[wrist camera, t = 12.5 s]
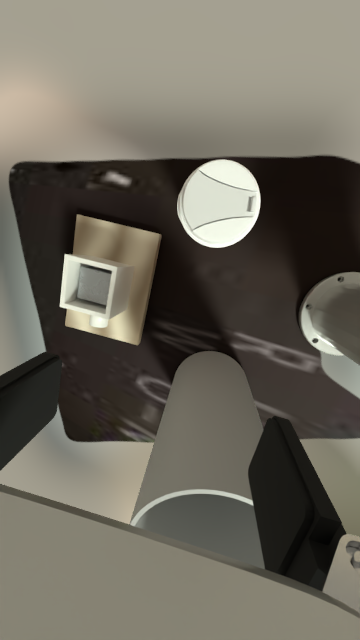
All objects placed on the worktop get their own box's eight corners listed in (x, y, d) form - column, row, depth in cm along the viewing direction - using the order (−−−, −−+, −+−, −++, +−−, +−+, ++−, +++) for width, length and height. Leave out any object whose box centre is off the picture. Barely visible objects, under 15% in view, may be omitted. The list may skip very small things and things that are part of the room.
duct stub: (124, 272, 36) (111, 274, 31) (119, 299, 37) (106, 305, 32) (97, 266, 36) (80, 266, 31) (94, 293, 37) (77, 297, 33)
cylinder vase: (178, 344, 39) (130, 473, 15) (252, 355, 38) (327, 512, 14) (171, 407, 42) (122, 597, 18) (239, 419, 41) (282, 637, 17)
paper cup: (245, 199, 33) (270, 154, 19) (237, 255, 35) (255, 249, 21) (190, 196, 34) (178, 151, 20) (186, 250, 36) (172, 243, 22)
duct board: (161, 235, 35) (159, 234, 34) (140, 342, 40) (137, 345, 39) (82, 216, 36) (77, 214, 35) (70, 323, 41) (65, 325, 39)
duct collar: (134, 266, 36) (117, 267, 29) (124, 326, 38) (105, 340, 31) (91, 255, 36) (64, 253, 29) (84, 316, 39) (57, 327, 32)
